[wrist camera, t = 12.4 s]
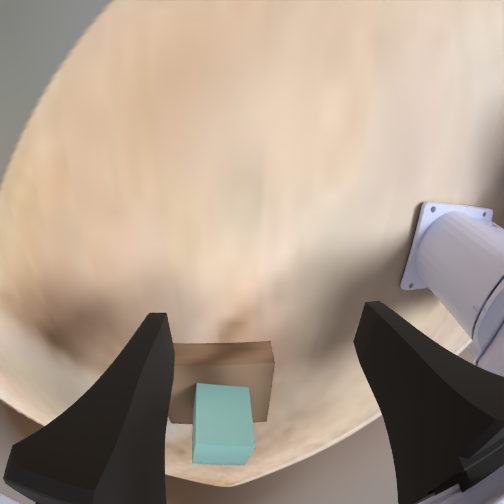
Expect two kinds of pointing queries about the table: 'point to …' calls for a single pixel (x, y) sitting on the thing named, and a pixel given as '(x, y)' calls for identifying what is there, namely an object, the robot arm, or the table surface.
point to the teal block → (222, 425)
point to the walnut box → (221, 374)
